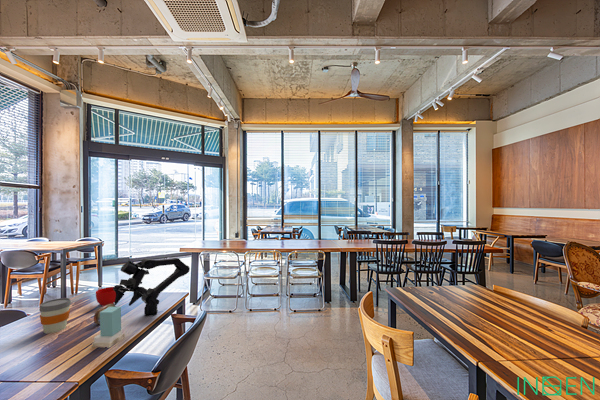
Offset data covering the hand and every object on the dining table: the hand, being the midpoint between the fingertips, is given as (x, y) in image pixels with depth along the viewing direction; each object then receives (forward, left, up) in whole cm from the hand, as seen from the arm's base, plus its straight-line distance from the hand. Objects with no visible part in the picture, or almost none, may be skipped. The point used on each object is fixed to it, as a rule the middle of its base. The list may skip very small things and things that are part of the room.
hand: (122, 304), depth 143 cm
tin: (+11, -14, -13) cm, 22 cm away
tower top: (+2, +16, -11) cm, 19 cm away
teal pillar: (+1, +16, -8) cm, 18 cm away
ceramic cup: (+15, -42, -13) cm, 46 cm away
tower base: (+2, +16, -13) cm, 21 cm away
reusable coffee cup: (+33, -12, -13) cm, 37 cm away
